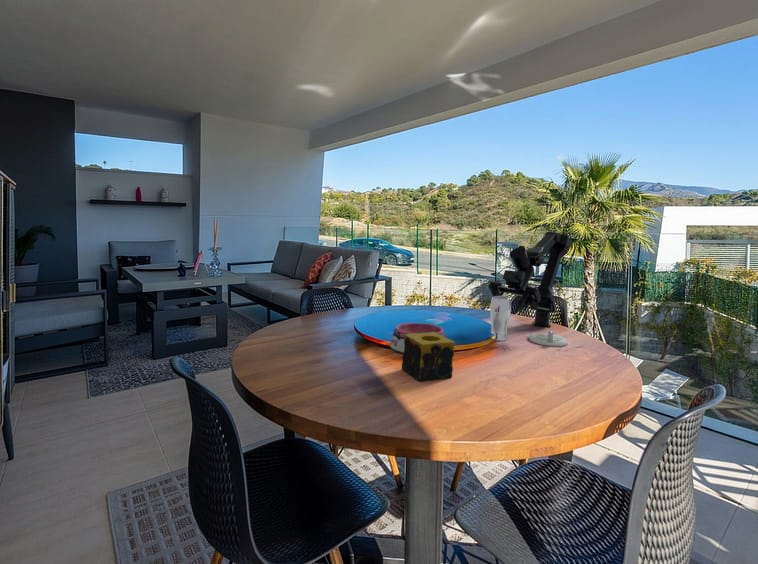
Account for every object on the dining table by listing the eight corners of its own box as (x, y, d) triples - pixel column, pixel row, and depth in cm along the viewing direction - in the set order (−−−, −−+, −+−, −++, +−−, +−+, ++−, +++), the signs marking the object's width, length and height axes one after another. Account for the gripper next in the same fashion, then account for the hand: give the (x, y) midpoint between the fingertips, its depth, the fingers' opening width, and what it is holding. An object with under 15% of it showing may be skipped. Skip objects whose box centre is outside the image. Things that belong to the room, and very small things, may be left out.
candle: (400, 369, 114) (402, 333, 112) (433, 365, 118) (435, 331, 116) (418, 383, 104) (420, 344, 103) (453, 378, 108) (455, 341, 107)
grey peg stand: (527, 334, 156) (528, 322, 155) (565, 338, 152) (566, 326, 152) (529, 343, 144) (530, 330, 143) (570, 348, 140) (572, 334, 139)
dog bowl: (381, 341, 140) (382, 322, 139) (432, 339, 146) (433, 320, 145) (401, 359, 123) (402, 336, 122) (457, 355, 128) (459, 333, 128)
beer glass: (510, 341, 145) (514, 299, 143) (490, 340, 145) (494, 298, 143) (505, 336, 152) (508, 295, 150) (486, 335, 152) (489, 295, 150)
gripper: (492, 260, 157) (473, 291, 151) (540, 264, 144) (522, 299, 138) (501, 279, 164) (484, 310, 158) (548, 286, 150) (531, 319, 144)
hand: (504, 309), depth 149 cm, fingers open, 9 cm apart
